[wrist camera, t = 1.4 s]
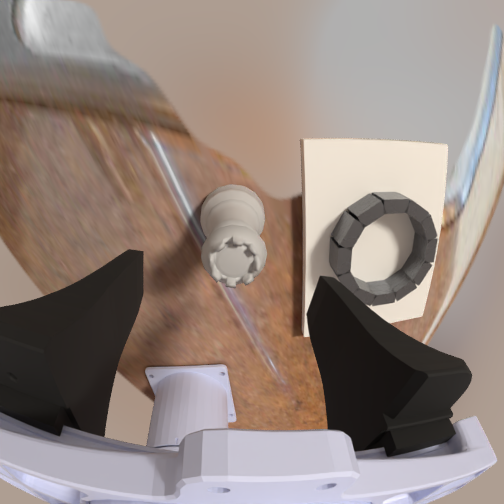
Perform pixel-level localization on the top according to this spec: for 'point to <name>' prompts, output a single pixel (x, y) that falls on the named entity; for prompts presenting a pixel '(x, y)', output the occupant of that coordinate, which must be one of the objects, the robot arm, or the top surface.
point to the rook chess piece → (233, 235)
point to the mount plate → (380, 231)
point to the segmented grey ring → (353, 227)
